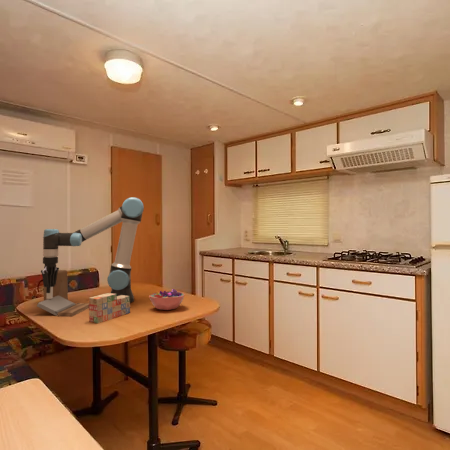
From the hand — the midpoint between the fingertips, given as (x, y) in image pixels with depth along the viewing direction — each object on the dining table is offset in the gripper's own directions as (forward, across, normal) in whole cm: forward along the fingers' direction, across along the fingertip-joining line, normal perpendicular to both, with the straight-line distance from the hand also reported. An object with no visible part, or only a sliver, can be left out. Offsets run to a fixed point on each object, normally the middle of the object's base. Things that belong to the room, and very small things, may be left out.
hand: (49, 298), depth 184 cm
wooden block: (+8, -19, -8) cm, 22 cm away
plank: (+4, 0, +4) cm, 6 cm away
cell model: (+5, -7, +66) cm, 66 cm away
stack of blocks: (+6, +9, +40) cm, 42 cm away
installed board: (+7, 0, +15) cm, 17 cm away
